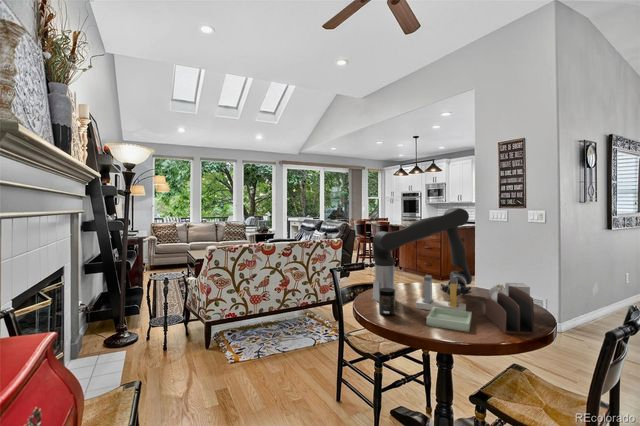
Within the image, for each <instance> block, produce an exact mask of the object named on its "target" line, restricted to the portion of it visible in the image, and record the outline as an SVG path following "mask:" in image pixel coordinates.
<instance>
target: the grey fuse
mask: <svg viewBox="0 0 640 426" xmlns="http://www.w3.org/2000/svg"><path fill="white" fill-rule="evenodd" d="M423 298H424V303H428V304H431V301H432V300H433V276H432V275H430V274H425V275H424V279H423Z"/></svg>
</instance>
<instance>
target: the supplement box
mask: <svg viewBox="0 0 640 426" xmlns="http://www.w3.org/2000/svg"><path fill="white" fill-rule="evenodd" d="M504 284H505V285H504V288H505V295H507V296H509V293H508V287H509V286H514V287H516V288H518V289H521V290H522V291H524V292H526V293H527V294H528V295H529V296H531V287H530V286H529V285H527V284H525V283H523V282H505V283H504Z"/></svg>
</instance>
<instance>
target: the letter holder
mask: <svg viewBox="0 0 640 426" xmlns="http://www.w3.org/2000/svg"><path fill="white" fill-rule="evenodd" d="M508 293H509V296H507V295H505V294H503V293H500V292H498V293H497V302H495V301H494V300H492V299H491V298H490V297H486V299H485V317H487V318H488V320H489V321H491V322H492V323H493V324H494V325H495V326H496V327H497V328H499V330H501V332H503V333H504V334H505V335H524V336H525V335H526V336H534V335H535V311H534V298H533V297H532V296H531V295H530V296H529V295H528V294H527V293H526V292H524V291H522V290H521V289H518V288H516V287H514V286H509V287H508Z"/></svg>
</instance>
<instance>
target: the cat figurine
mask: <svg viewBox="0 0 640 426" xmlns="http://www.w3.org/2000/svg"><path fill="white" fill-rule="evenodd" d="M498 292H500V293H503V294H505V286H504V285H503V284H499V283H498V284H496V285H492V287H491V288H490V289H489V291H488V298H490V299H492V300H494V301H495V302H497V293H498Z"/></svg>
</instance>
